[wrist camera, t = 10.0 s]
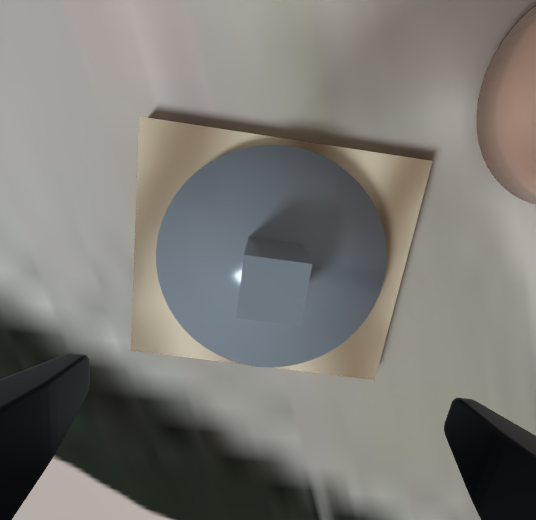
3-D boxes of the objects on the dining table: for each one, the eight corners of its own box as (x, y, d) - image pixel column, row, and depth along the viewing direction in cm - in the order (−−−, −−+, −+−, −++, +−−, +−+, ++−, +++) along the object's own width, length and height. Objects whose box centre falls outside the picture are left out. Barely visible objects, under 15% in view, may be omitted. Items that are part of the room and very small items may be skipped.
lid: (404, 164, 18) (456, 162, 13) (355, 369, 21) (381, 427, 16) (168, 129, 17) (130, 112, 12) (155, 345, 21) (122, 398, 16)
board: (424, 161, 19) (432, 160, 18) (370, 370, 22) (374, 379, 21) (146, 119, 18) (139, 116, 17) (136, 342, 22) (131, 350, 21)
